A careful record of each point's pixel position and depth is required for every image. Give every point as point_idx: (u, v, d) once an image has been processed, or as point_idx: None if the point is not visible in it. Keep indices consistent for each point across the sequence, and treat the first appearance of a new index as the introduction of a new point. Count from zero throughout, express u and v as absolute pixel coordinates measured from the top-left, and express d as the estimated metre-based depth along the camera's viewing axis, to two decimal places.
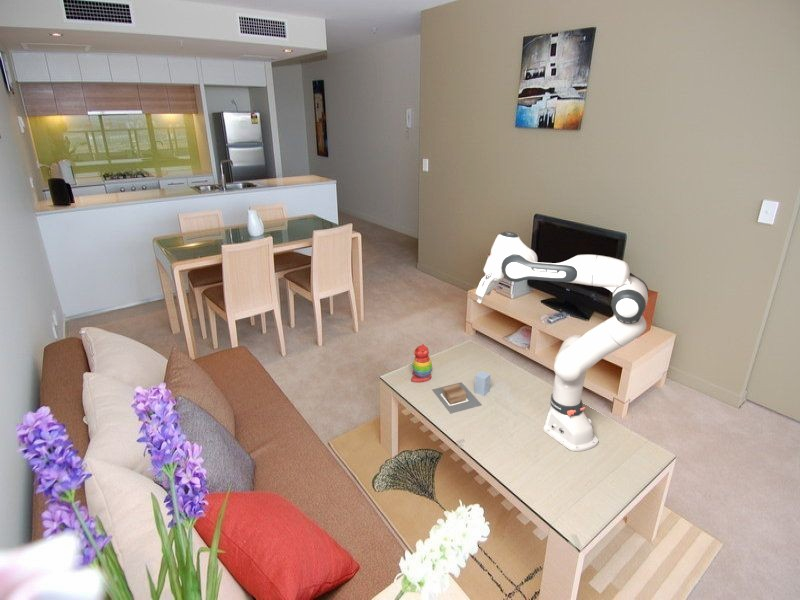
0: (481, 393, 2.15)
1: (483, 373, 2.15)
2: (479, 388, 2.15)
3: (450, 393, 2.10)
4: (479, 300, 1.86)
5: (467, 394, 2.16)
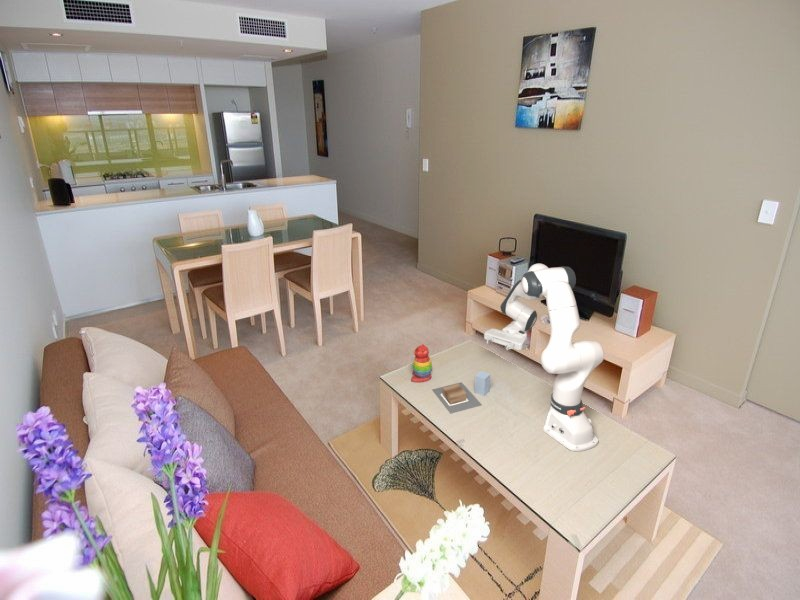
0: (481, 393, 2.15)
1: (483, 373, 2.15)
2: (479, 388, 2.15)
3: (450, 393, 2.10)
4: None
5: (467, 394, 2.16)
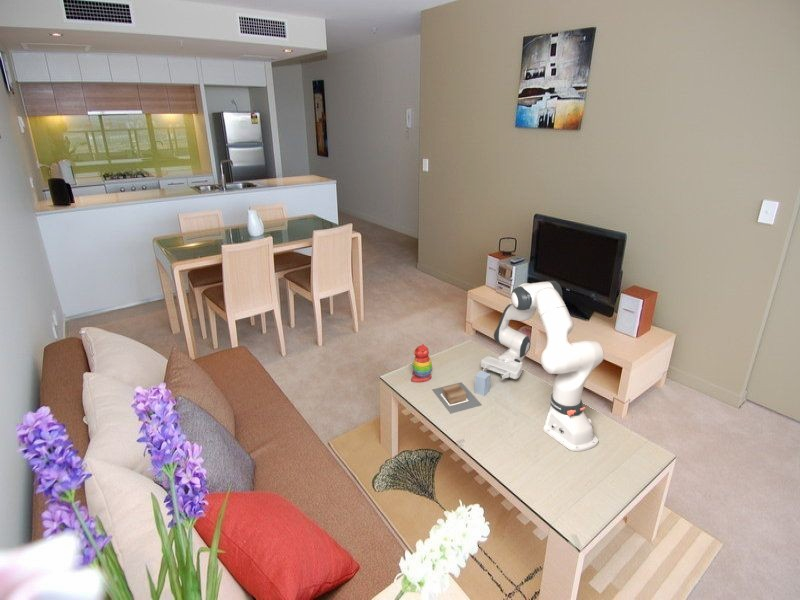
0: (481, 393, 2.15)
1: (483, 373, 2.15)
2: (479, 388, 2.15)
3: (450, 393, 2.10)
4: None
5: (467, 394, 2.16)
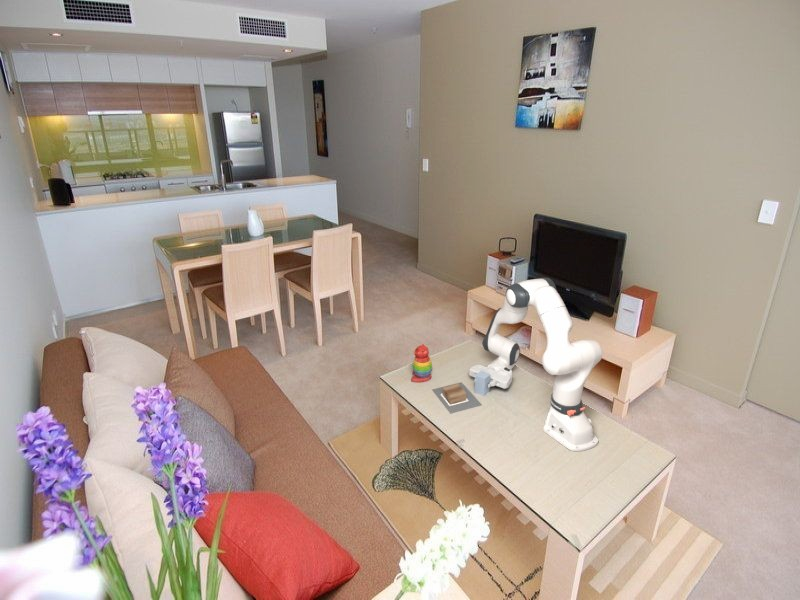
0: (481, 393, 2.15)
1: (483, 373, 2.15)
2: (479, 388, 2.15)
3: (450, 393, 2.10)
4: None
5: (467, 394, 2.16)
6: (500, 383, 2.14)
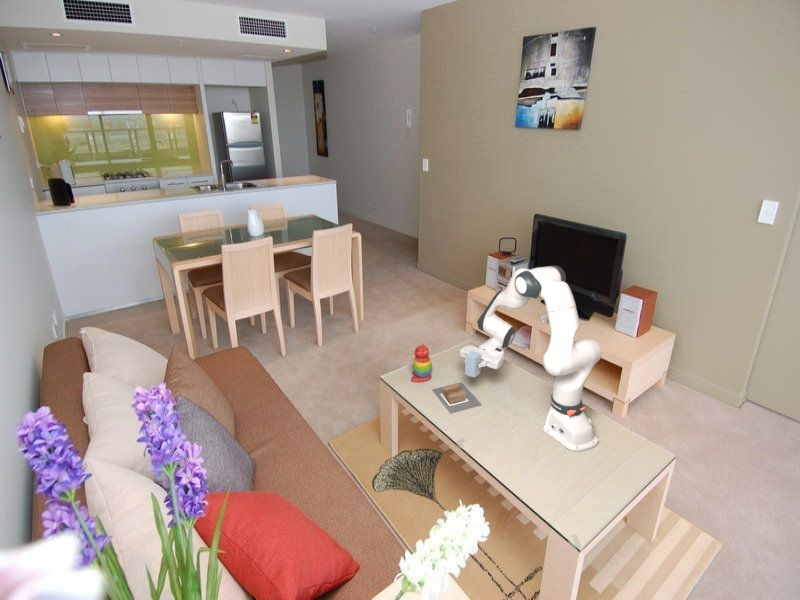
0: (471, 374, 2.09)
1: (473, 353, 2.09)
2: (469, 368, 2.09)
3: (450, 393, 2.10)
4: None
5: (467, 394, 2.16)
6: (491, 363, 2.08)
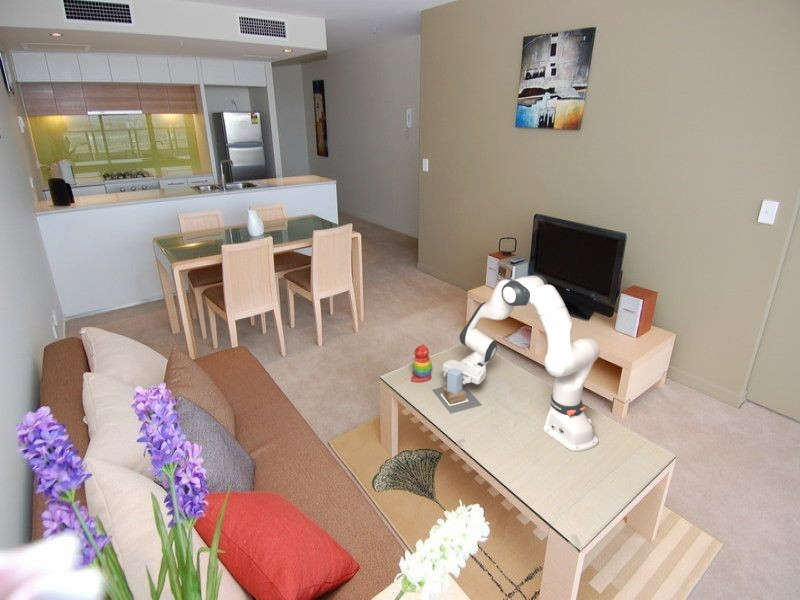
0: (453, 391, 2.10)
1: (455, 370, 2.10)
2: (451, 385, 2.09)
3: (450, 393, 2.10)
4: None
5: (467, 394, 2.16)
6: (473, 378, 2.08)
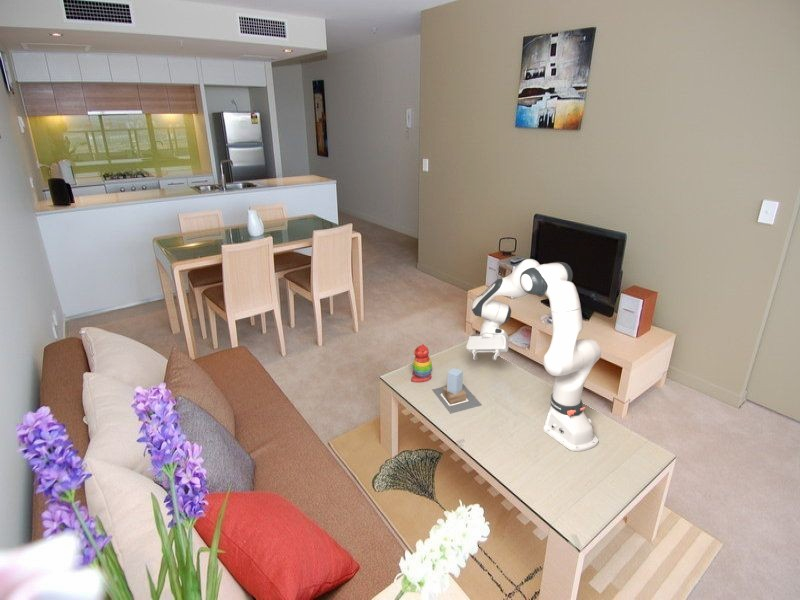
0: (453, 391, 2.10)
1: (455, 370, 2.10)
2: (451, 385, 2.09)
3: (450, 393, 2.10)
4: None
5: (467, 394, 2.16)
6: (500, 350, 2.14)
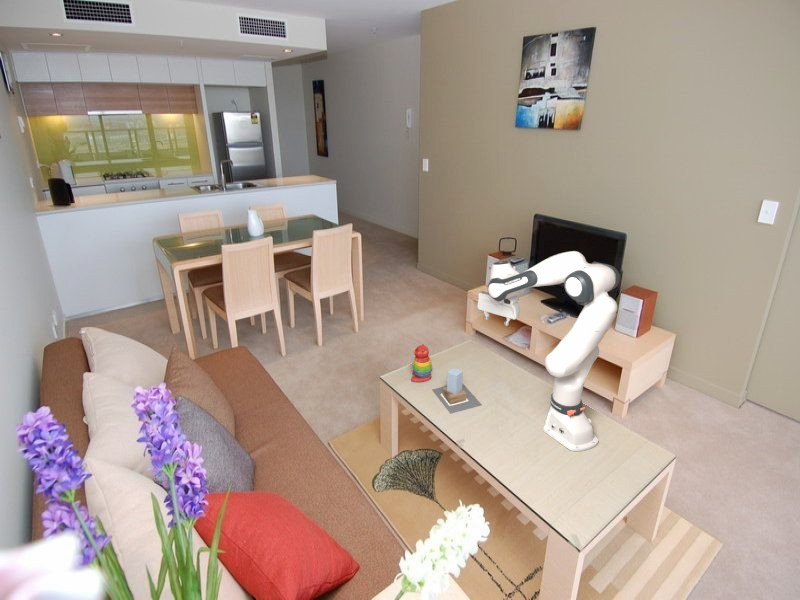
0: (453, 391, 2.10)
1: (455, 370, 2.10)
2: (451, 385, 2.09)
3: (450, 393, 2.10)
4: None
5: (467, 394, 2.16)
6: None
